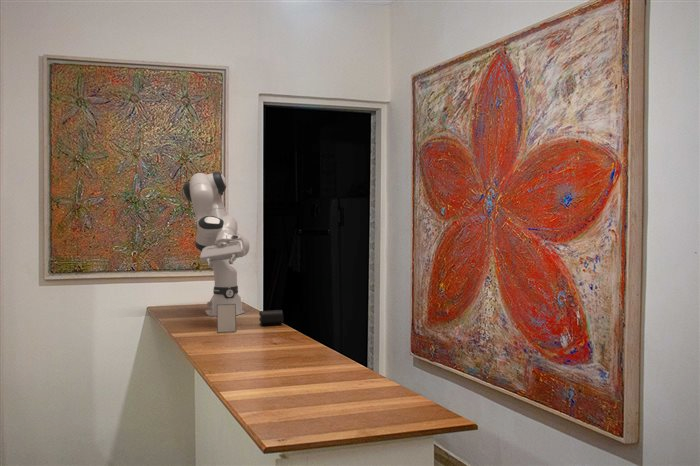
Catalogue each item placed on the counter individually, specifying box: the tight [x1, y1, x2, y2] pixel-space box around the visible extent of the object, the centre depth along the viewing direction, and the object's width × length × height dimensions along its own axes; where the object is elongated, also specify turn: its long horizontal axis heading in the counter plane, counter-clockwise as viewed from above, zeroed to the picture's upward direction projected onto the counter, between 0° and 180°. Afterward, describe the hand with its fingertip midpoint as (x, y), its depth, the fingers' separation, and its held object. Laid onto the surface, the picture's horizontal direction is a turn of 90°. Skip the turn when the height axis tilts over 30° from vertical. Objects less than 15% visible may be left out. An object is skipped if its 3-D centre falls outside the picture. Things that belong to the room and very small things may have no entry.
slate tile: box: [216, 304, 237, 334], centre depth 315 cm, size 2×8×12 cm, turn 100°
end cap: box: [258, 309, 284, 327], centre depth 332 cm, size 10×7×7 cm
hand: (220, 264), depth 323 cm, fingers open, 8 cm apart
